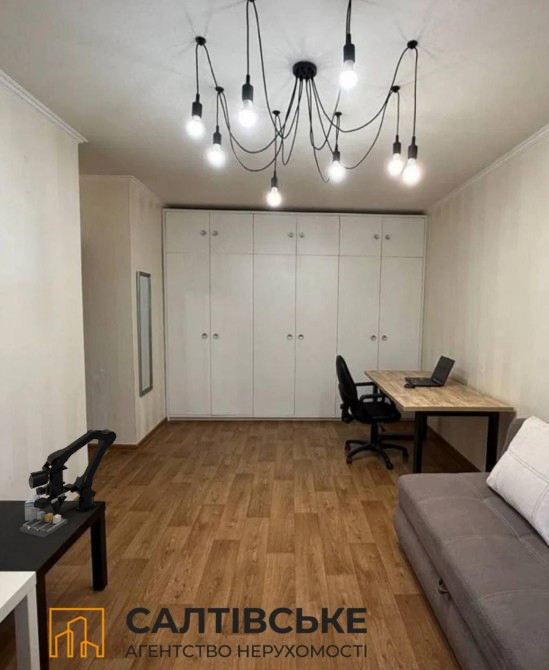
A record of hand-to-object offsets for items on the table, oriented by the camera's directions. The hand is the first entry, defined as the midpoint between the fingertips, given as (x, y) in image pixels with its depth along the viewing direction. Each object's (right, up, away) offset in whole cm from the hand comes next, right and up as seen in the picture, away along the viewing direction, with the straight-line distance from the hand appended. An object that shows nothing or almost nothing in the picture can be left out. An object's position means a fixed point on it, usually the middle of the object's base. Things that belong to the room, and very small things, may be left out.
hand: (56, 513), depth 170 cm
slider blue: (-6, -1, -2) cm, 6 cm away
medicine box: (-13, -3, +3) cm, 13 cm away
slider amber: (-1, -1, -4) cm, 4 cm away
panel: (-2, -3, -6) cm, 7 cm away
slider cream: (+3, -1, -5) cm, 6 cm away
